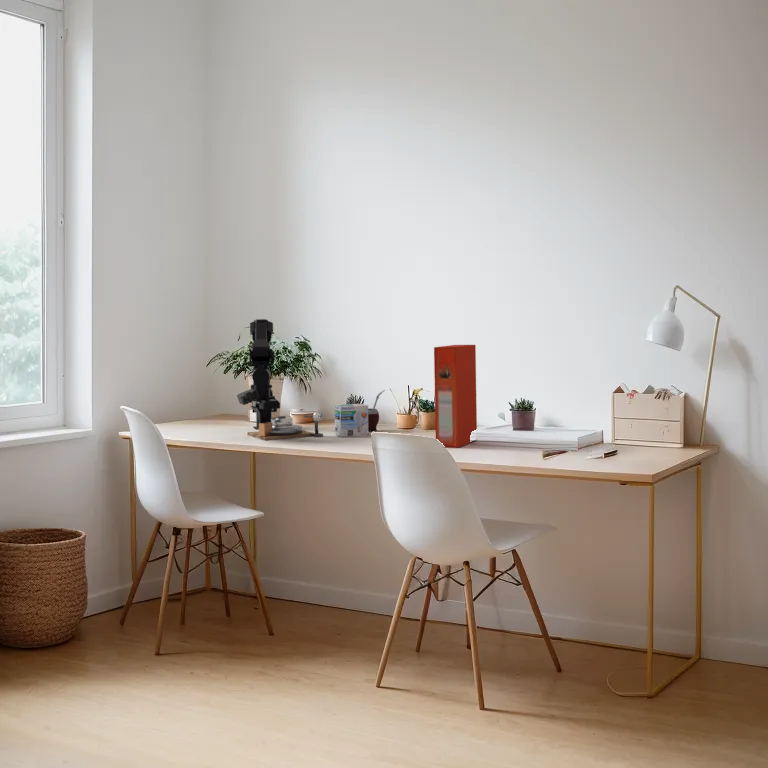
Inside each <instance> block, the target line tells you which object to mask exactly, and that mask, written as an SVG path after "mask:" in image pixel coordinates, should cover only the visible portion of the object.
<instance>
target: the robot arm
mask: <svg viewBox="0 0 768 768" xmlns="http://www.w3.org/2000/svg"><path fill="white" fill-rule="evenodd" d="M249 333H250V334H249V335H252V336H251V337H252V341H253V342H252V343H251V348H249V367H253V368H252V375H251V377H252V380H253V381H252V383H253V384H250V388H249V389H247V390H245V391H242V392H241V393H238V394H237V395H236V396H237V400H238V403H239V405H243V406H244V405H248V404H250V403H251V405H250V408H251V409H252V414H253V413H255V415H256V416H255V417H256V419H255V420H256V426H252V428H253V429H257V430H259V423H264V422H271V418H273V416H272V414H273V413H277V412H278V409H281V402H280V401H279V400H277V399H276V397H275V395H273V394H274V392H273V389H272V388H273V385H272V384H271V381H270V380H271V379H270V378H271V373H270V371H271V370H270V369H271V368H270V367H272V366H273V364H275V351H274V350H273V348H271V347H270V346H271V344H270V343H271V341H272V335H274V323H273V322H272V321H269V320H268V319H266V318H260V319H259V318H258V319H254V320H253V321H252V322H250V323H249Z"/></svg>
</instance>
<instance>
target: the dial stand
mask: <svg viewBox="0 0 768 768" xmlns="http://www.w3.org/2000/svg"><path fill="white" fill-rule="evenodd" d="M303 417H304V418H312V419H313V421H314V432H313V433H311V436H310V437H312V438H323V437H324V434H323V433H321V432H319V422H320V421H322V418H323V414H322V413H321V412H319V411H315V412H313V414H312V415H311V414H310V415H309V414H307V415H306V414H305V415H303Z"/></svg>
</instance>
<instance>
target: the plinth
mask: <svg viewBox="0 0 768 768" xmlns="http://www.w3.org/2000/svg"><path fill="white" fill-rule="evenodd" d="M311 433H314V432H312V431H308V430H305V429H302V433H298V434H290V435H268V436H259V431H250V432H247V436H249V437H252V438H256V439H258V440H259V439H260V440H263V441H271V440H272V441H273V440H274V441H275V440H284V439H295V438H296V437H298V438H306V437H307V438H309V437H312V436H311ZM296 439H297V438H296Z"/></svg>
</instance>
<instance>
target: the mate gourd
mask: <svg viewBox="0 0 768 768" xmlns="http://www.w3.org/2000/svg"><path fill="white" fill-rule="evenodd" d="M385 391H386V390H385V389H383V390H382V391H380V392H379V393H378V394H377V395H376V398H375V402H374V404H373V407H372V408H368V433H369V432H371V433H373V432H372V431H375V432H376V431H378V429H377V426H378V424H379V422H380V414H379V411H378V409H377V408H376V405H377V404H378V403H377V402H378V400H379V398H380V396H381V395H382V394H383V393H384V392H385Z"/></svg>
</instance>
